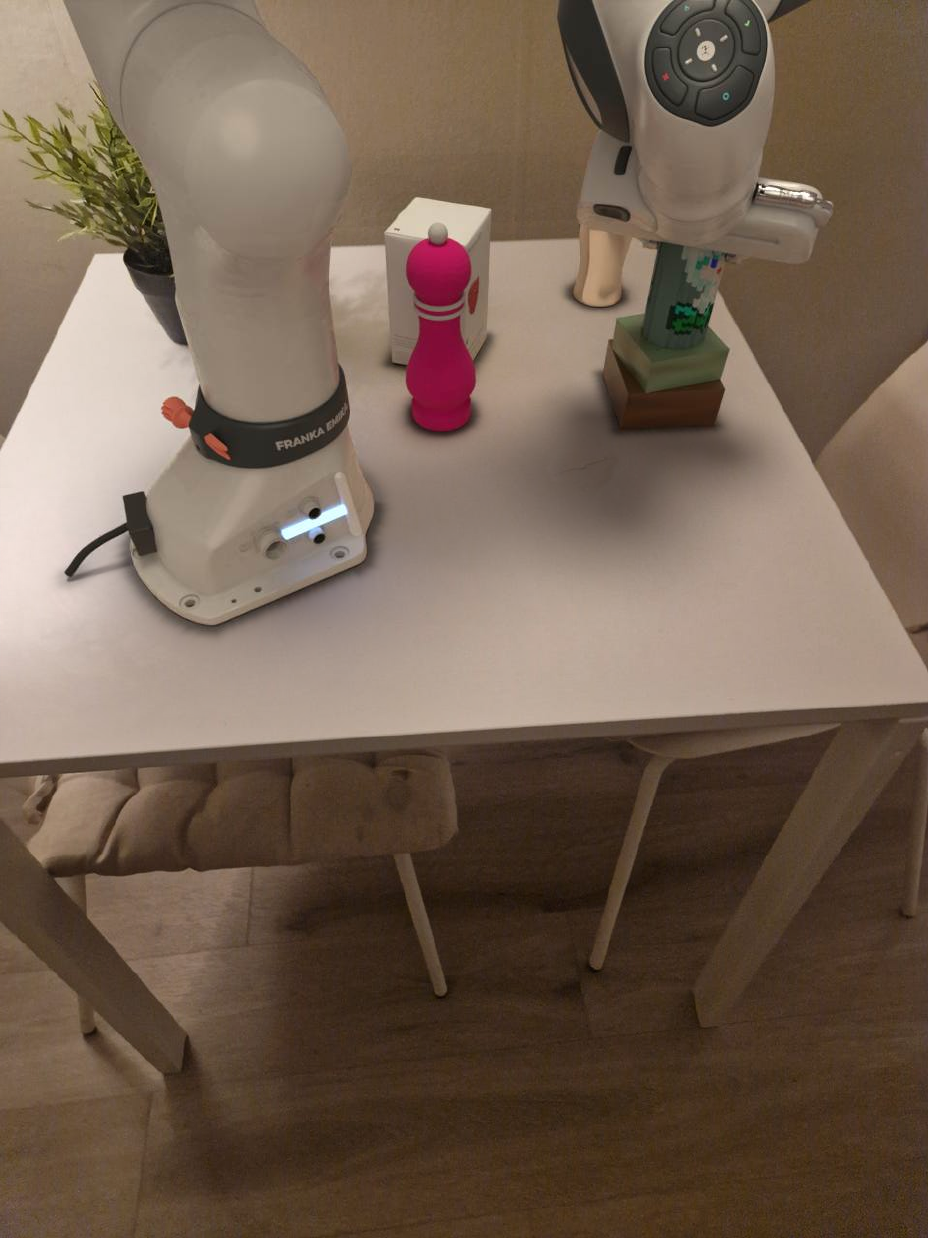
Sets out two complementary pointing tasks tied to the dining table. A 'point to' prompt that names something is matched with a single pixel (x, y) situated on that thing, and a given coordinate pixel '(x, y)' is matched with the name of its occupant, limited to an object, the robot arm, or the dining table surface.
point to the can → (681, 295)
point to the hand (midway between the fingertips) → (693, 247)
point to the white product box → (400, 238)
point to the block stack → (663, 379)
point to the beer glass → (600, 267)
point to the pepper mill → (439, 333)
